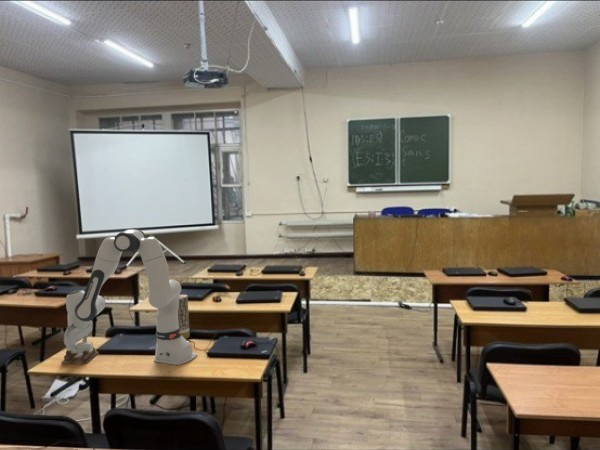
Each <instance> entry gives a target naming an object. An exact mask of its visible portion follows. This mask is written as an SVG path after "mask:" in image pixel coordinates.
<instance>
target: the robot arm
mask: <svg viewBox="0 0 600 450" xmlns="http://www.w3.org/2000/svg"><path fill="white" fill-rule="evenodd" d="M123 253H138V254H139V256H140V258H141V260H142V264H143V266H144V269H145V273H146V276H147V280H148V281H147V283H148V290H149V294H148V298H147V299H148V302H149V305H151V307H153V308H155V309H157V312H156V314H155V322H156V324H155V325H156V330H155V337H156V343H155V352H154V353H155V354H154V355H155V356H154V358H153V361H154V362H156V363H160V364H161V363H162V364H167V365H173V366H178V365H179V366H180V365H183V364H186V363H189V362H190V361H193V360H194V359H195V358H197V356H198V353H197V352H196V351H195V352H194V351H193V348H192V345H191V343H190V341H188V340H187V338H186V339H185V338H184V337H183V336H182V334H181V332H182V331H180V328H179V324H178V308H179V299H180V295H181V291H182V285H181V284H180V282H179V281H178V280H176V279H170V276H169V274H170V273H169V272H170V267H169V264H168V262H167V259H166V256H165V253H164V250H163V248H162V246H161V244H160V242H159V241H158V239H157V238H155V237H153V236H151V237H150V236H149V237H147V236H146V234H145V233H144V231H142V230H140V229H137V228H134V229H133V228H132V229H125V230H124V231H123V230H122V231H120V232H119V233H117V234H116V235H115V237H113V236H111V237H110V236H109V237H106V238H104V239H103V241H102V242H101V244H100V246H99V249H98V251H97V254H96V256H95V260H94V263H93V267H92V271H91V274H90V277H89V280H88V283H87V285H86V288H85V290H83V289H77V290H76V289H75V290H73V291H70V292H68V294H66V300H65V303H66V304H65V305H66V306H65V309H66V311H67V327H66V330H65V331H64V334H63V344H64V345H65V346H66V345H70V346H71V348H72V351H76V350H77V347H76V346H75V343H78V341H80V340H81V339H82V340H81V341H82V342H88V337H89V335H90V333H91V332H92V331H93V319H94V318H95V317H96V316H97V315H99V314H100V313H101V312H102V311H103V310H104V309H105V308H106V300H105V298H104V297H103V296H102V295H99V294H100V291H101V288H102V287H103V285H104V284H105V283H106V281H107V280H108V279H109V278H110V277H112V275H113V274H114V273H115V272H116V270H117V267H118V266H119V263H120V260H121V256H122V254H123ZM182 333H183V332H182ZM82 342H81V343H82Z"/></svg>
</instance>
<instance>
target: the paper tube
mask: <svg viewBox="0 0 600 450" xmlns="http://www.w3.org/2000/svg"><path fill="white" fill-rule="evenodd" d="M189 315H190V314H189V298H188V295H187V294H180V299H179V308H178V324H179V328H180V331H182V332H183V333H182V332H181V334H182V336H183V337H184V338H185V339H186V340H187V339H188V338H190V336H191V335H190V317H189Z"/></svg>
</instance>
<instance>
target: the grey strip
mask: <svg viewBox="0 0 600 450" xmlns="http://www.w3.org/2000/svg"><path fill="white" fill-rule="evenodd" d="M93 345H94V344H93V341H87V342H76V343H75V346H76V347H77V350H76V351H72V348H71V346H70V345H65V346H66V347H65V348H66V351H71V353H83V351H88V353H91V352H92V351H93V347H94V346H93Z"/></svg>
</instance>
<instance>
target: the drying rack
mask: <svg viewBox="0 0 600 450" xmlns="http://www.w3.org/2000/svg"><path fill="white" fill-rule="evenodd" d="M99 354H100V353H99V351H96V347H94V346H93V351H92V352H91V353H88V351H83V353H71V351H67V350H66V351H65V355H63V360H61V365H75V364H76V365H83V364H84V365H86V364H88V363H90V362H91V360H93V359H94V358H96V357H97V356H98V355H99Z"/></svg>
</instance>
